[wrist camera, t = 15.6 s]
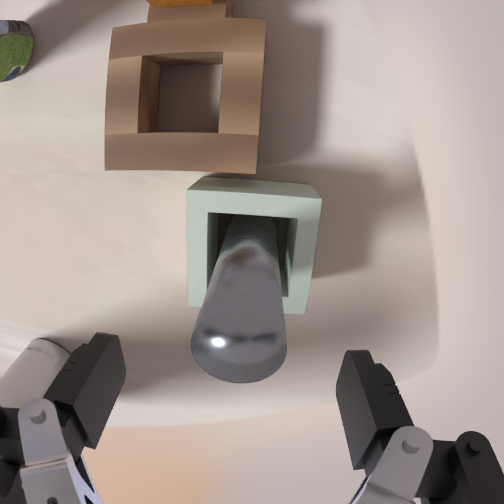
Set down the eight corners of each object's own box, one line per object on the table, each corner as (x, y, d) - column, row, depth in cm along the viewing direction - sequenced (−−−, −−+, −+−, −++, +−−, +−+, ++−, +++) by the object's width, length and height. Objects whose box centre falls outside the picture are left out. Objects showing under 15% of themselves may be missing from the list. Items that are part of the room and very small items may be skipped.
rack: (298, 281, 26) (305, 315, 21) (200, 274, 26) (188, 306, 21) (310, 184, 23) (322, 199, 18) (202, 176, 23) (186, 189, 18)
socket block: (257, 166, 23) (255, 174, 19) (128, 162, 23) (104, 170, 19) (269, -18, 17) (270, -42, 13) (142, -12, 17) (123, -30, 13)
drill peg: (273, 255, 25) (280, 385, 12) (227, 251, 25) (193, 378, 12) (277, 210, 24) (292, 314, 11) (229, 207, 24) (189, 306, 11)
